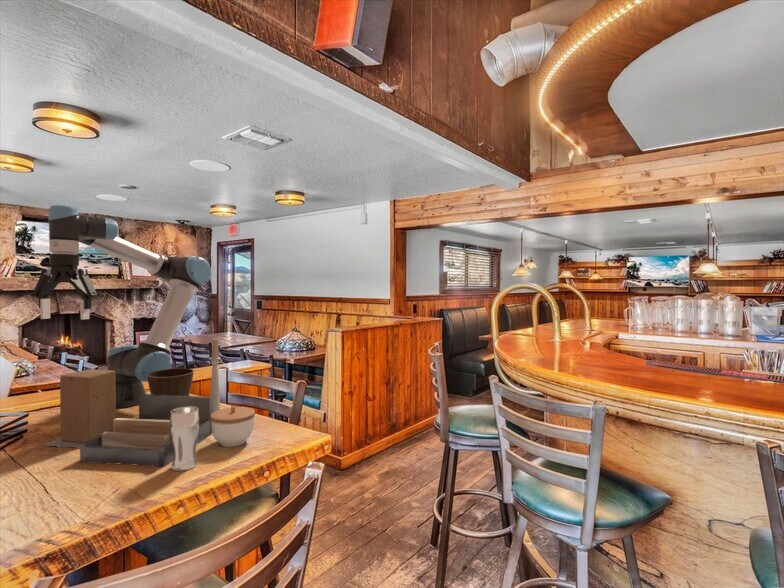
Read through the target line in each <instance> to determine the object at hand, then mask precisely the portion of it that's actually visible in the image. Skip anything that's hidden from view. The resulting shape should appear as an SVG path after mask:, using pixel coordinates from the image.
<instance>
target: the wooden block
mask: <svg viewBox="0 0 784 588" xmlns="http://www.w3.org/2000/svg"><path fill="white" fill-rule="evenodd" d="M59 378H60V379H59V385H60V386H59V390H60V392H59V393H60V394H59V395H60V397H59V398H60V399H59V401H60V403H59V404H60V405H59V406H60V408H59V410H60V411H59V412H60V416H59V417H60V419H59V420H60V438H61V441H68V442H78V443H83V442H85V441H87V440H89V439H92V438H94V437H96V436H98V435H100V434H102V433H104V432H107V431H109V430H111V429H113V420H114V419H116V408H115V371H111V370H108V369H107V370H106V369H93V368H92V369H91V368H90V369H85V370H84V369H83V370H80V371H75V372H71V373H67V374H62V375H60V377H59Z"/></svg>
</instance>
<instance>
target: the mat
mask: <svg viewBox="0 0 784 588" xmlns="http://www.w3.org/2000/svg"><path fill="white" fill-rule="evenodd" d="M80 444H81V443H78V442H68V441H61V437H59V438H56V439H54V440H51V441H50V442H47V443H45V444H43V445H42V446H43V447H47V446H60V447H59V448H67V447H80Z"/></svg>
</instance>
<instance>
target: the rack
mask: <svg viewBox="0 0 784 588" xmlns="http://www.w3.org/2000/svg"><path fill="white" fill-rule="evenodd" d="M188 406H192V407H197V408H198V414H199V432H198V438H197V443H196V445H198V444H199V443H201V442H202V441H203V440H205V439H207V438H208V437H210V436H211V435H213V433H212V429H211V414H212V397H210V396H203V395H202V396H201V395H200V396H199V395H198V396H197V395H196V396H195V395H189V396H176V395H151V394H142V395H139V405H138V416H137V417H136V418H134V419H151V420H170V416H171V411H172V410H173V409H176V408H180V407H188ZM107 432H113V429H111V430H109V431H107ZM79 462H80V463H88V462H97V463H96V464H107V463H121V464H120V465H125V464H137V465H136V466H144V465H151V466H150V467H162V466H164V467H166V466H167V465H169V464H170V463H172V462H173V447H172V443H171V441H169V442H167V443H166V444H164V445H163V446H161V447H159V449H150V448H130V447H110V446H102V434H100V435H98V436H96V437H94V438H92V439H89V440H87V441H85V442H83V443H81V444H80V448H79ZM98 462H99V463H98ZM152 465H153V466H152Z"/></svg>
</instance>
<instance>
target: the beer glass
mask: <svg viewBox="0 0 784 588" xmlns="http://www.w3.org/2000/svg"><path fill="white" fill-rule="evenodd" d="M198 432H199V414H198V408H197V407H192V406H188V407H180V408H176V409H173V410H172V411H171V416H170V437H171V443H172V447H173V461H172V462H171V470H173V471H174V472H175V471H176V472H182V471H183V472H184V471H188V470H190V469H193V468H196V466H197V465H198V460H197V455H196V452H197V449H196V448H197V444H196V443H197V438H198Z"/></svg>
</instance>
